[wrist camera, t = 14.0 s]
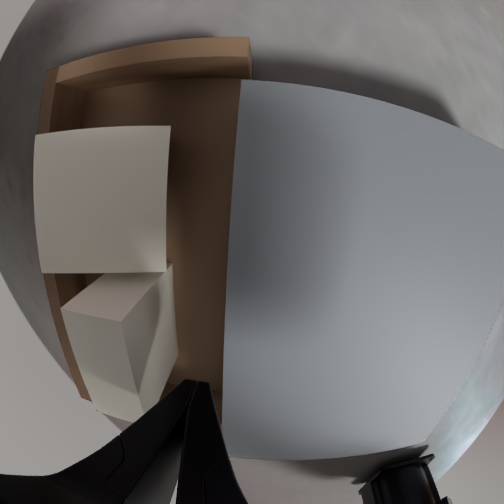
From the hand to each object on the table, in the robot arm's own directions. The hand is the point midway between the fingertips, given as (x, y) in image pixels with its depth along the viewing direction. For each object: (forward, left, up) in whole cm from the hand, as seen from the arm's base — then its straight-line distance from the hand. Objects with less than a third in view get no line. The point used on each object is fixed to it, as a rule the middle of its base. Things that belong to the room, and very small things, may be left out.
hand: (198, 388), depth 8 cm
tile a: (+4, -6, -1) cm, 7 cm away
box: (+4, -3, -5) cm, 7 cm away
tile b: (+2, 0, -2) cm, 3 cm away
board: (-7, -1, -5) cm, 8 cm away
